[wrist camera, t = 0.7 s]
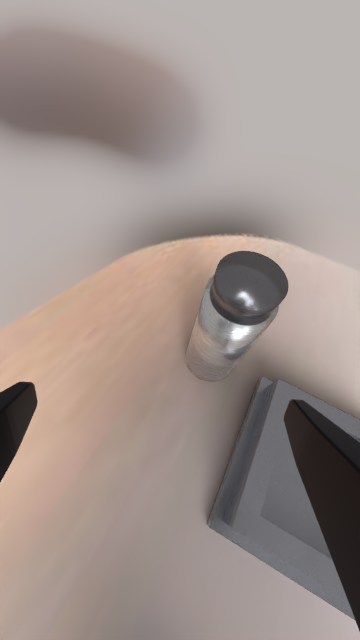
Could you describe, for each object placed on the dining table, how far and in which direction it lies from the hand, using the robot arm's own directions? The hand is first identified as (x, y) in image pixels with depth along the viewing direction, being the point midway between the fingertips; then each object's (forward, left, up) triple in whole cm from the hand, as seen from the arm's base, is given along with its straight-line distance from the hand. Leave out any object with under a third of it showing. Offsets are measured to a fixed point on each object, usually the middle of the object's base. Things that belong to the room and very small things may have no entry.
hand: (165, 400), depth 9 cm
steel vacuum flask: (+5, -8, -15) cm, 18 cm away
